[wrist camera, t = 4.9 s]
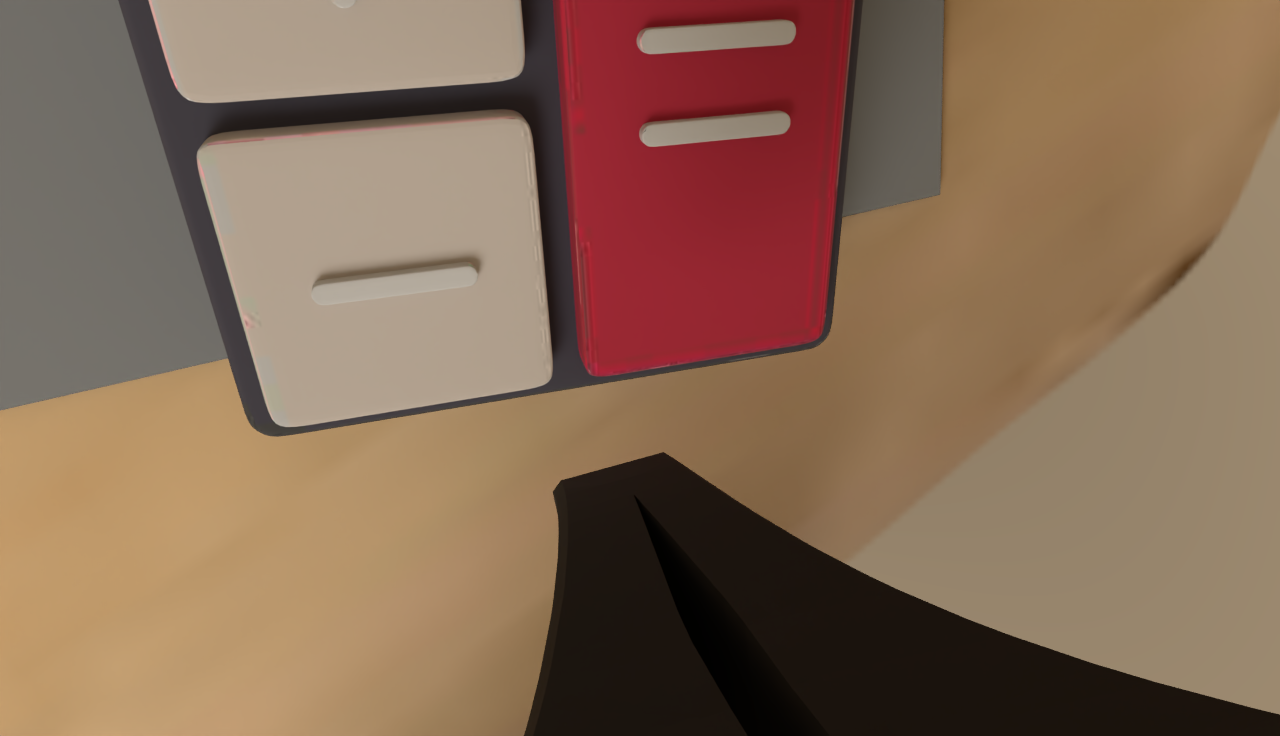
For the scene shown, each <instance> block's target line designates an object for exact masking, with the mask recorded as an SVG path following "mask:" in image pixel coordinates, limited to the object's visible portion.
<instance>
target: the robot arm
mask: <svg viewBox="0 0 1280 736" xmlns="http://www.w3.org/2000/svg"><path fill="white" fill-rule="evenodd" d="M553 495H554V500H555V504H556V508H557V513H558V522H559V543H558V562H557V572H556V581H555V591H554V600H553V608H552V614H551V620H550V625H549V630H548V635H547V641H546V646H545V651H544V656H543V661H542V667H541V672H540V676H539V681H538V685H537V689H536V693H535V697H534V701H533V705H532V709H531V713H530V716H529V720H528V724H527V727H526V731H525V734H524V736H1280V715H1279V714H1275V713H1271V712H1266V711H1262V710H1258V709H1254V708H1250V707H1247V706H1243V705H1239V704H1235V703H1231V702H1228V701H1224V700H1220V699H1216V698H1213V697H1209V696H1205V695H1201V694H1198V693H1194V692H1190V691H1186V690H1182V689H1179V688H1175V687H1171V686H1167V685H1164V684H1160V683H1156V682H1153V681H1150V680H1146V679H1143V678H1140V677H1136V676H1133V675H1130V674H1126V673H1123V672H1120V671H1116V670H1113V669H1110V668H1106V667H1103V666H1099V665H1096V664H1093V663H1090V662H1087V661H1084V660H1081V659H1078V658H1075V657H1072V656H1069V655H1066V654H1063V653H1060V652H1057V651H1054V650H1052V649H1049V648H1046V647H1043V646H1040V645H1037V644H1034V643H1031V642H1028V641H1025V640H1022V639H1019V638H1016V637H1013V636H1010V635H1008V634H1005V633H1002V632H1000V631H997V630H995V629H992V628H989V627H986V626H984V625H981V624H978V623H976V622H973V621H971V620H968V619H966V618H963V617H960V616H959V615H956V614H954V613H951V612H949V611H947V610H944V609H942V608H940V607H937V606H935V605H933V604H930V603H928V602H926V601H923V600H921V599H918V598H916V597H914V596H911V595H909V594H907V593H904V592H902V591H900V590H898V589H895V588H893V587H891V586H889V585H887V584H885V583H883V582H880V581H878V580H876V579H874V578H872V577H870V576H868V575H866V574H864V573H862V572H860V571H858V570H856V569H854V568H852V567H850V566H849V565H847V564H845V563H843V562H841V561H839V560H837V559H835V558H833V557H831V556H829V555H827V554H825V553H823V552H821V551H820V550H818V549H816V548H814V547H812V546H811V545H809V544H807V543H805V542H803V541H802V540H800V539H798V538H797V537H795V536H793V535H792V534H790V533H788V532H787V531H785V530H783V529H782V528H780V527H778V526H777V525H775V524H773V523H772V522H770V521H768V520H767V519H765V518H763V517H762V516H760V515H758V514H757V513H755V512H754V511H752V510H750V509H749V508H747V507H746V506H744V505H743V504H741V503H739V502H738V501H736V500H735V499H733V498H732V497H730V496H729V495H727V494H726V493H724V492H723V491H721V490H720V489H718V488H717V487H715V486H714V485H712V484H711V483H709V482H708V481H706V480H705V479H703V478H702V477H700V476H699V475H697V474H696V473H695V472H693V471H692V470H690V469H689V468H687V467H686V466H684V465H683V464H681V463H680V462H678V461H677V460H675V459H674V458H672V457H670V456H669V455H667V454H666V453H664V452H663V453H659V454H656V455H652V456H648V457H645V458H641V459H637V460H634V461H630V462H627V463H623V464H619V465H616V466H612V467H608V468H605V469H601V470H598V471H594V472H590V473H587V474H583V475H579V476H576V477H572V478H569V479H565V480H561V481H560V483H559V484H558V485H557V487H556V488H555V490H554V491H553Z"/></svg>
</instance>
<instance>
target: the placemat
mask: <svg viewBox="0 0 1280 736" xmlns="http://www.w3.org/2000/svg"><path fill="white" fill-rule="evenodd" d="M943 31H944V0H863V7H862V17H861V28H860V38H859V48H858V58H857V69H856V79H855V89H854V100H853V110H852V120H851V131H850V141H849V151H848V162H847V172H846V182H845V193H844V203H843V213H842V217H845V216H849V215H854V214H858V213H862V212H867V211H871V210H875V209H880V208H884V207H888V206H893V205H897V204H901V203H906V202H910V201H915V200H919V199H923V198H928V197H932V196H936V195H940V179H941V129H942V80H943ZM226 358H228V356H227V353H226V350H225V346H224V343H223V340H222V337H221V333H220V330H219V327H218V324H217V320H216V317H215V314H214V311H213V307H212V304H211V301H210V298H209V294H208V291H207V288H206V285H205V281H204V278H203V275H202V272H201V268H200V265H199V262H198V259H197V255H196V252H195V249H194V245H193V242H192V239H191V236H190V232H189V229H188V226H187V223H186V219H185V216H184V213H183V210H182V206H181V203H180V200H179V197H178V193H177V190H176V187H175V184H174V180H173V177H172V174H171V171H170V167H169V164H168V161H167V158H166V154H165V151H164V148H163V145H162V141H161V138H160V135H159V132H158V128H157V125H156V122H155V119H154V115H153V112H152V109H151V106H150V102H149V99H148V96H147V92H146V89H145V86H144V83H143V79H142V76H141V73H140V70H139V66H138V63H137V60H136V57H135V53H134V50H133V47H132V44H131V40H130V37H129V34H128V31H127V27H126V24H125V21H124V18H123V14H122V11H121V8H120V5H119V1H118V0H0V410H4V409H9V408H13V407H17V406H22V405H26V404H30V403H35V402H39V401H43V400H48V399H52V398H56V397H61V396H65V395H70V394H74V393H78V392H83V391H87V390H91V389H96V388H100V387H104V386H109V385H113V384H117V383H122V382H126V381H130V380H135V379H139V378H144V377H148V376H152V375H157V374H161V373H165V372H170V371H174V370H178V369H183V368H187V367H191V366H196V365H200V364H205V363H209V362H213V361H218V360H222V359H226Z"/></svg>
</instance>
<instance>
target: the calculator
mask: <svg viewBox="0 0 1280 736" xmlns="http://www.w3.org/2000/svg"><path fill="white" fill-rule="evenodd" d="M118 1H119V5H120V8H121V11H122V14H123V18H124V21H125V24H126V27H127V31H128V34H129V37H130V40H131V44H132V47H133V50H134V53H135V57H136V60H137V63H138V66H139V70H140V73H141V76H142V79H143V83H144V86H145V89H146V92H147V96H148V99H149V102H150V106H151V109H152V112H153V115H154V119H155V122H156V125H157V128H158V132H159V135H160V138H161V141H162V145H163V148H164V151H165V154H166V158H167V161H168V164H169V167H170V171H171V174H172V177H173V180H174V184H175V187H176V190H177V193H178V197H179V200H180V203H181V206H182V210H183V213H184V216H185V219H186V223H187V226H188V229H189V232H190V236H191V239H192V242H193V245H194V249H195V252H196V255H197V259H198V262H199V265H200V268H201V272H202V275H203V278H204V281H205V285H206V288H207V291H208V294H209V298H210V301H211V304H212V307H213V311H214V314H215V317H216V320H217V324H218V327H219V330H220V333H221V337H222V340H223V343H224V346H225V350H226V353H227V356H228V359H229V363H230V366H231V369H232V372H233V376H234V379H235V382H236V385H237V389H238V392H239V395H240V398H241V401H242V405H243V408H244V411H245V414H246V416H247V419H248V421H249V423H250V424H251V426H252V427H253V428H254V429H256V430H257V431H259V432H260V433H262V434H265V435H268V436H286V435H294V434H300V433H306V432H312V431H319V430H325V429H331V428H337V427H343V426H349V425H355V424H361V423H367V422H373V421H379V420H385V419H391V418H397V417H403V416H409V415H415V414H421V413H427V412H433V411H440V410H446V409H452V408H458V407H464V406H470V405H476V404H482V403H488V402H494V401H500V400H506V399H512V398H518V397H524V396H530V395H536V394H542V393H548V392H554V391H560V390H567V389H573V388H579V387H585V386H591V385H597V384H603V383H609V382H615V381H621V380H627V379H633V378H639V377H645V376H651V375H657V374H663V373H669V372H675V371H681V370H687V369H694V368H700V367H706V366H712V365H718V364H724V363H730V362H736V361H742V360H748V359H754V358H760V357H766V356H772V355H778V354H784V353H790V352H796V351H802V350H807V349H811V348H814V347H816V346H818V345H820V344H821V343H822V342H823V341H824V340H825V339H826V338H827V336H828V335H829V332H830V329H831V324H832V316H833V306H834V296H835V285H836V275H837V265H838V255H839V244H840V234H841V224H842V213H843V203H844V193H845V182H846V172H847V162H848V151H849V141H850V131H851V120H852V110H853V100H854V89H855V79H856V69H857V58H858V48H859V38H860V28H861V17H862V7H863V0H118Z"/></svg>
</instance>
